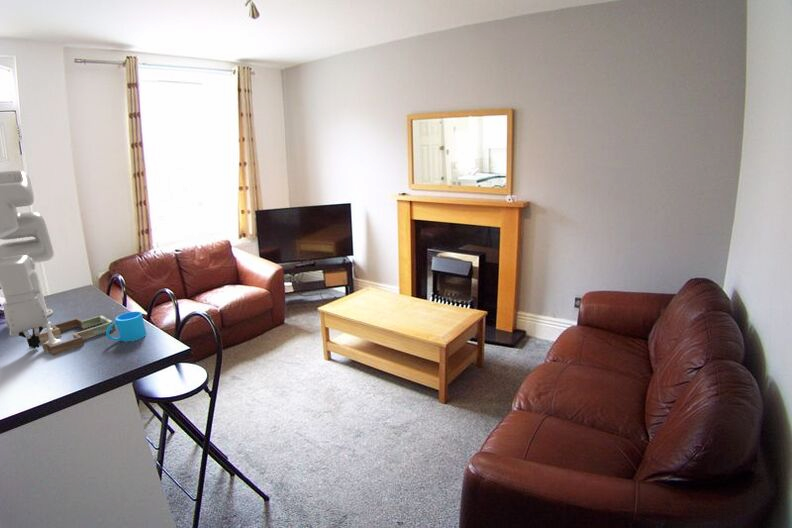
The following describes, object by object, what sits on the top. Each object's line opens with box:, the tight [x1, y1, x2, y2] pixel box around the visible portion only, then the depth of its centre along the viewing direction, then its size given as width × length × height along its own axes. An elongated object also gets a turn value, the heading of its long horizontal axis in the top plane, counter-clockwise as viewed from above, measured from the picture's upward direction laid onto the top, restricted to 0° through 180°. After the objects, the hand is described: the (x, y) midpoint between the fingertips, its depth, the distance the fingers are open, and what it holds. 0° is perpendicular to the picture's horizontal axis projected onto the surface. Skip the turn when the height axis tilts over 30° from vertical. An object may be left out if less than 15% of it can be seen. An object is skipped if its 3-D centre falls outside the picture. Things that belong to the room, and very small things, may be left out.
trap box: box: [39, 314, 116, 356], centre depth 160 cm, size 22×22×3 cm
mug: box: [105, 311, 147, 342], centre depth 156 cm, size 12×8×8 cm
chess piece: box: [44, 318, 63, 345], centre depth 154 cm, size 5×5×10 cm
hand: (35, 346), depth 152 cm, fingers closed
